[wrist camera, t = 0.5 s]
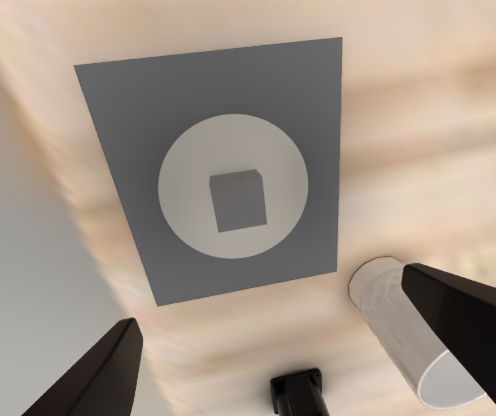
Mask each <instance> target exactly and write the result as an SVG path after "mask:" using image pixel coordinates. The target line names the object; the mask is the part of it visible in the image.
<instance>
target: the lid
mask: <svg viewBox="0 0 496 416" xmlns="http://www.w3.org/2000/svg"><path fill="white" fill-rule="evenodd" d="M158 194H159V201H160V206H161V209H162V212H163V214H164V217H165V219H166V220H167V222H168V224H169V226H170V227H171V228H172V230H173V231H174V232H175V234H176V235H177V236H178V237H179V238H180V239H181V240H183V241H184V242H185V243H186V244H187V245H189V246H191V247H192V248H194V249H195V250H198V251H200V252H202V253H204V254H207V255H210V256H214V257H219V258H227V259H236V258H245V257H250V256H254V255H257V254H259V253H262V252H264V251H266V250H268V249H270V248H272V247H273V246H275V245H277V244H278V243H279V242H280V241H282V240H283V239H284V238H285V237H286V236H287V235H288V234H289V233H290V232H291V231H292V229H293V228H294V227H295V225H296V224H297V222H298V221H299V219H300V217H301V215H302V213H303V210H304V207H305V204H306V201H307V195H308V175H307V170H306V166H305V163H304V160H303V157H302V155H301V153H300V151H299V150H298V148H297V146H296V145H295V144H294V142H293V141H292V140H291V139H290V138H289V137H288V136H287V134H286V133H285V132H283V131H282V130H281V129H279V128H278V127H277V126H275V125H273V124H271V123H270V122H268V121H266V120H263V119H260V118H258V117H254V116H250V115H243V114H225V115H220V116H215V117H211V118H209V119H206V120H203V121H201V122H199V123H197V124H196V125H194V126H192V127H191V128H189V129H188V130H187V131H185V132H184V133H183V134H182V135H181V136H180V137H179V138H178V139H177V140H176V141H175V142H174V144H173V145H172V146H171V148H170V149H169V151H168V153H167V155H166V156H165V158H164V161H163V164H162V166H161V170H160V174H159V182H158Z"/></svg>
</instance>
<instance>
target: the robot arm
mask: <svg viewBox="0 0 496 416" xmlns="http://www.w3.org/2000/svg"><path fill="white" fill-rule="evenodd" d="M401 287H402V290H403V292H404V293H405V294H406V296H407V297H408V299H409V300H410V301H411V303H412V304H413V305H414V307H415V308H416V309H417V311H418V312H419V313H420V315H421V316H422V318H423V319H424V320H425V322H426V323H427V324H428V326H429V327H430V328H431V330H432V331H433V332H434V333H435V335H436V336H437V337H438V338H439V339H440V341H441V342H442V343H443V344H444V345H445V346H446V348H447V349H448V350H449V351H450V352H451V353H452V354H453V356H454V357H455V358H456V359H457V360H458V361H459V362H460V364H461V365H462V366H463V367H464V368H465V369H466V371H467V372H468V373H469V374H470V375H471V376H472V377H473V379H474V380H475V381H476V382H477V383H478V384H479V385H480V387H481V388H482V389H483V390H484V391H485V392H486V394H487V395H488V396H489V397H490V398H491V399H492V400H493V402H494V403H495V404H496V288H495V287H491V286H488V285H485V284H482V283H479V282H476V281H473V280H470V279H467V278H464V277H460V276H457V275H454V274H451V273H448V272H445V271H442V270H439V269H436V268H432V267H429V266H426V265H423V264H420V263H412V264H407V265H405V266H404V268H403V273H402V280H401ZM142 347H143V336H142V333H141V331H140V328H139V326H138V323H137V321H136V319H135V318H127V319H122V320H120V321H119V322H117V323H116V324H115V325H114V326H113V327H112V328H111V329H110V330H109V331H108V332H107V333H106V334H105V335H104V336H103V337H102V338H101V339H100V340H99V341H98V342H97V343H96V344H95V345H94V346H93V347H92V348H91V349H90V350H88V352H86V353H85V354H84V356H82V357H81V358H80V359H79V360H78V361H77V362H76V363H75V364H74V365H73V366H72V367H71V368H70V369H69V370H68V371H67V372H66V373H65V374H64V375H63V376H62V377H61V378H60V379H59V380H58V381H56V382H55V383H54V385H52V386H51V387H50V388H49V389H48V390H47V391H46V392H45V393H44V394H43V395H42V396H41V397H40V398H39V399H38V400H37V401H36V402H35V403H34V404H33V405H32V406H31V407H30V408H29V409H28V410H27V411H26V412H25V413H24V414H22V415H21V416H130V414H131V410H132V406H133V402H134V397H135V391H136V385H137V379H138V372H139V366H140V360H141V354H142ZM270 385H271V393H272V400H273V408H274V413H275V414H279V416H330V415H329V413H328V410H327V408H326V405H325V402H324V400H323V397H322V375H321V372H320V370H319V369H316V370H312V371H307V372H303V373H299V374H295V375H290V376H286V377H282V378H277V379H273V380H271V382H270Z"/></svg>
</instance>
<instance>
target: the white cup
mask: <svg viewBox="0 0 496 416" xmlns="http://www.w3.org/2000/svg"><path fill="white" fill-rule="evenodd" d="M405 265H406V264H404V263H403V262H401V261H399V260H397V259H395V258H392V257H381V258H376V259H374V260H372V261H369V262H367V263H365V264H364V265H363V266H362V267H361V268H360V269H359V270H358V271H357V272H356V273H355V274H354V276H353V278H352V280H351V282H350V284H349V294H350V298H351V299H352V300H353V302H354V303H355V305H356V306H357V307H358V309H359V310H360V312H361V314H362V315H363V317H364V319H365V321H366V323H367V324H368V326H369V327H370V329H371V330H372V332H373V333H374V335H375V336H376V337H377V339H378V341H379V342H380V344H381V346H382V347H383V349H384V350H385V351H386V353H387V354H388V356H389V357H390V359H391V360H392V361H393V363H394V364H395V366H396V367H397V369H398V370H399V372H400V373H401V374H402V376H403V377H404V379H405V380H406V382H407V383H408V385H409V386H410V388H411V389H412V390H413V392H414V393H415V395H416V396H417V398H418V399H419V401H420V402H421V403H422V404H423V405H425V406H426V407H429V408H432V409H439V410H443V409H452V408H457V407H460V406H464V405H466V404H469V403H471V402H474V401H476V400H478V399H480V398H482V397H483V396H485V395H487V394H486V392H485V391H484V390H483V389H482V388H481V387H480V385H479V384H478V383H477V382H476V381H475V380H474V379H473V377H472V376H471V375H470V374H469V373H468V372H467V371H466V369H465V368H464V367H463V366H462V365H461V364H460V362H459V361H458V360H457V359H456V358H455V357H454V356H453V354H452V353H451V352H450V351H449V350H448V349H447V348H446V346H445V345H444V344H443V343H442V342H441V341H440V339H439V338H438V337H437V336H436V335H435V333H434V332H433V331H432V330H431V328H430V327H429V326H428V324H427V323H426V322H425V320H424V319H423V318H422V316H421V315H420V313H419V312H418V311H417V309H416V308H415V307H414V305H413V304H412V303H411V301H410V300H409V299H408V297H407V296H406V294H405V293H404V292H403V290H402V287H401V280H402V273H403V268H404V266H405Z"/></svg>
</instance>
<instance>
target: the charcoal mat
mask: <svg viewBox="0 0 496 416" xmlns="http://www.w3.org/2000/svg"><path fill="white" fill-rule="evenodd" d="M74 68H75V71H76V74H77V77H78V80H79V83H80V86H81V88H82V91H83V94H84V97H85V100H86V103H87V106H88V109H89V111H90V114H91V117H92V120H93V123H94V126H95V129H96V131H97V134H98V137H99V140H100V143H101V146H102V149H103V152H104V154H105V157H106V160H107V163H108V166H109V169H110V172H111V175H112V177H113V180H114V183H115V186H116V189H117V192H118V195H119V198H120V200H121V203H122V206H123V209H124V212H125V215H126V218H127V221H128V223H129V226H130V229H131V232H132V235H133V238H134V241H135V244H136V246H137V249H138V252H139V255H140V258H141V261H142V264H143V267H144V269H145V272H146V275H147V278H148V281H149V284H150V287H151V290H152V292H153V295H154V298H155V301H156V304H157V307H158V306H163V305H168V304H173V303H178V302H183V301H188V300H193V299H199V298H204V297H209V296H214V295H219V294H224V293H229V292H234V291H239V290H244V289H249V288H254V287H260V286H265V285H270V284H275V283H280V282H285V281H290V280H295V279H300V278H305V277H310V276H316V275H321V274H326V273H331V272H336V271H337V242H338V200H339V159H340V118H341V76H342V37H338V38H328V39H319V40H309V41H300V42H291V43H281V44H272V45H262V46H253V47H243V48H234V49H225V50H215V51H206V52H196V53H187V54H178V55H168V56H159V57H149V58H140V59H130V60H121V61H112V62H102V63H93V64H83V65H74ZM225 114H243V115H250V116H254V117H258V118H260V119H263V120H266V121H268V122H270V123H271V124H273V125H275V126H277V127H278V128H279V129H281V130H282V131H283V132H285V133H286V134H287V136H288V137H289V138H290V139H291V140H292V141H293V142H294V144H295V145H296V146H297V148H298V150H299V151H300V153H301V155H302V157H303V160H304V163H305V166H306V170H307V175H308V195H307V201H306V204H305V207H304V210H303V213H302V215H301V217H300V219H299V221H298V222H297V224H296V225H295V227H294V228H293V229H292V231H291V232H290V233H289V234H288V235H287V236H286V237H285V238H284V239H283V240H282V241H280V242H279V243H278V244H277V245H275V246H273V247H272V248H270V249H268V250H266V251H264V252H262V253H259V254H257V255H254V256H250V257H245V258H236V259H227V258H219V257H214V256H210V255H207V254H204V253H202V252H200V251H198V250H195V249H194V248H192V247H191V246H189V245H187V244H186V243H185V242H184V241H183V240H181V239H180V238H179V237H178V236H177V235H176V234H175V232H174V231H173V230H172V228H171V227H170V226H169V224H168V222H167V220H166V219H165V217H164V214H163V212H162V209H161V206H160V201H159V194H158V182H159V174H160V170H161V166H162V164H163V161H164V158H165V156H166V155H167V153H168V151H169V149H170V148H171V146H172V145H173V144H174V142H175V141H176V140H177V139H178V138H179V137H180V136H181V135H182V134H183V133H184V132H185V131H187V130H188V129H189V128H191V127H192V126H194V125H196V124H197V123H199V122H201V121H203V120H206V119H209V118H211V117H215V116H220V115H225Z"/></svg>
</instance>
